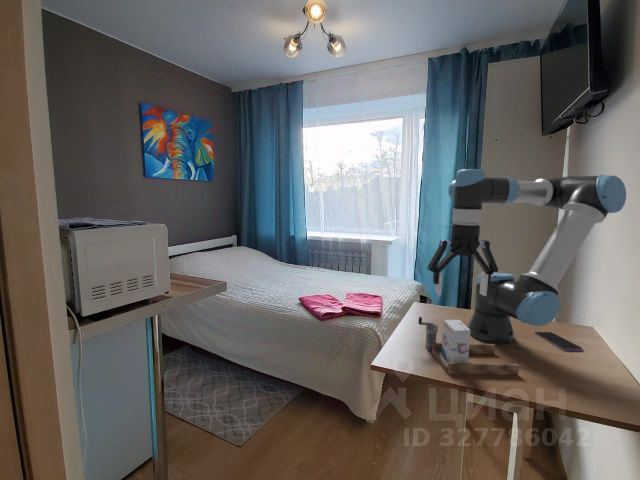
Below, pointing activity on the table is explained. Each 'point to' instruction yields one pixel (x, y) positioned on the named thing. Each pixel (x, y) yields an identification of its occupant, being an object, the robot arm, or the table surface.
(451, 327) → the ink box
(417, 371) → the table surface
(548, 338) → the smartphone
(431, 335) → the bay
